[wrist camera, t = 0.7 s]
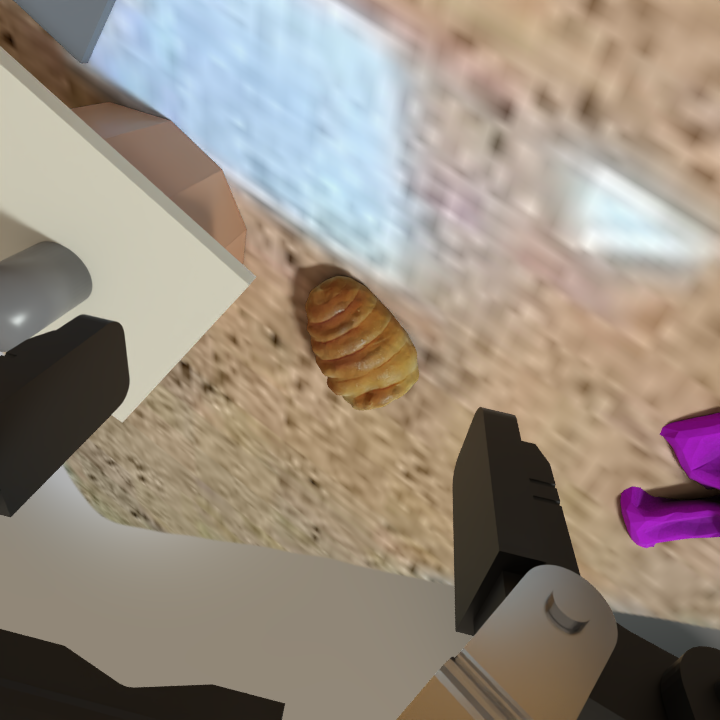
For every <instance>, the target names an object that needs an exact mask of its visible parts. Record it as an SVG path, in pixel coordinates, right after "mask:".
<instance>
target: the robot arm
mask: <svg viewBox="0 0 720 720" xmlns="http://www.w3.org/2000/svg"><path fill="white" fill-rule="evenodd" d="M129 384H130V376H129V368H128V359H127V351H126V342H125V334H124V329H123V327H122V325H121V324H120V323H119V322H116V321H112V320H108V319H103V318H99V317H95V316H90V315H86V314H82V315H79V316H77V317H75V318H74V319H72V320H71V321H69V322H68V323H66V324H65V325H63V326H62V327H60V328H58V329H57V330H53V331H50V332H47V333H44V334H41V335H38V336H35V337H32V338H29V339H27V340H25V341H23V342H22V343H20V344H19V345H17V346H15V347H14V348H12V349H11V350H9V351H8V352H6V355H5V356H2V355H1V356H0V515H4V516H8V517H11V516H12V515H13V514H14V513H15V512H16V511H17V510H18V509H19V508H20V507H21V506H22V505H23V504H24V503H25V502H26V501H27V500H28V499H29V498H30V497H31V496H32V495H33V494H34V493H35V492H36V491H37V490H38V489H39V488H40V487H41V486H42V485H43V484H44V483H45V482H46V481H47V480H48V479H49V478H50V477H51V476H52V475H53V474H54V473H55V472H56V471H57V470H58V469H59V468H60V466H62V465H63V463H64V462H65V461H66V460H67V459H68V458H69V457H70V456H71V455H72V454H73V453H74V452H75V451H76V450H77V449H78V448H79V447H80V446H81V445H82V444H83V443H84V442H85V441H86V440H87V439H88V438H89V437H90V436H91V435H92V434H93V433H94V432H95V431H96V430H97V429H98V428H99V427H100V426H101V425H102V424H103V423H104V422H105V421H106V420H107V419H108V418H109V417H110V416H111V415H112V414H113V413H114V412H115V411H116V410H117V409H118V407H119V406H120V405H121V404H122V403H123V401H124V399H125V398H126V395H127V393H128V389H129ZM559 504H560V499H559V496H558V492H557V489H556V488H555V481H554V477H553V474H552V470H551V466H550V463H549V462H548V461H547V459H546V458H545V457H544V455H543V454H542V453H541V451H540V450H539V449H538V447H537V446H536V444H533V443H528V442H524V441H521V437H520V432H519V428H518V423H517V419H516V416H515V415H512V414H508V413H503V412H499V411H495V410H491V409H486V408H482V407H480V408H478V410H477V411H476V413H475V415H474V418H473V420H472V423H471V425H470V428H469V431H468V433H467V436H466V438H465V441H464V443H463V446H462V448H461V451H460V453H459V456H458V459H457V462H456V466H455V470H454V476H453V530H454V578H455V625H456V632H460V633H465V634H468V635H472V636H473V638H472V639H471V640H470V641H469V643H468V644H467V645H466V646H465V647H464V648H463V650H462V651H461V652H460V653H459V654H458V655H457V656H456V657H455V658H454V657H451V658H450V659H449V660H448V661H447V662H446V663H445V664H444V665H443V666H442V667H441V668H440V669H439V670H438V672H437V673H436V674H435V675H434V676H433V677H432V679H431V680H430V681H429V682H428V683H427V684H426V686H425V687H424V688H423V689H422V690H421V691H420V693H419V694H418V695H417V696H416V697H415V698H414V700H413V701H412V702H411V703H410V704H409V705H408V707H407V708H406V709H405V710H404V711H403V712H402V714H401V715H400V716H399V717H398V718H397V720H720V650H718V649H715V648H711V647H702V646H699V647H693V648H691V649H689V650H688V651H686V652H685V653H684V654H683V655H682V656H681V657H680V658H678V657H676V656H674V655H672V654H670V653H668V652H667V651H664V650H663V649H661V648H659V647H657V646H656V645H654V644H652V643H650V642H648V641H646V640H645V639H643V638H641V637H639V636H637V635H636V634H633V633H631V632H630V631H628V630H627V629H625V628H624V627H622V626H621V625H619V624H618V623H617V622H616V621H615V617H614V615H613V613H612V610H611V608H610V607H609V605H608V603H607V602H606V600H605V599H604V598H603V596H602V595H601V594H600V593H599V592H598V591H597V589H596V588H595V587H594V586H592V585H591V584H590V583H589V582H588V581H587V580H585V579H584V578H582V577H581V576H580V573H579V569H578V565H577V562H576V558H575V554H574V551H573V547H572V543H571V540H570V536H569V532H568V529H567V525H566V521H565V518H564V514H563V510H562V507H561V506H560V505H559ZM284 706H285V703H281V702H277V701H273V700H269V699H266V698H262V697H257V696H254V695H250V694H247V693H242V692H239V691H235V690H231V689H227V688H223V687H220V686H216V685H188V686H164V687H141V688H140V687H139V688H132V687H126V686H123V685H121V684H119V683H118V682H116V681H115V680H113V679H112V678H111V677H109V676H108V675H106V674H105V673H103V672H102V671H100V670H99V669H97V668H96V667H95V666H93V665H92V664H90V663H88V662H87V661H86V660H84V659H83V658H81V657H80V656H78V655H77V654H76V653H74V652H73V651H71V650H70V649H68V648H67V647H65V646H63V645H59V644H55V643H51V642H48V641H44V640H40V639H36V638H33V637H29V636H24V635H21V634H17V633H13V632H10V631H6V630H2V629H0V720H282V716H283V711H284Z"/></svg>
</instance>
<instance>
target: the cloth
mask: <svg viewBox="0 0 720 720" xmlns="http://www.w3.org/2000/svg"><path fill="white" fill-rule="evenodd" d="M660 435H661V436H663V437H664V438H665V439H666V440H667V441H668V443H669V444H670V445H671V446H672V448H673V450H674V452H675V454H676V456H677V458H678V461H679V463H680V465H681V466H682V468H683V469H684V471H685V473H686V474H687V476H688V477H689V478H690V479H692V480H695V481H697V482H698V483H700V484H701V485H702V486H704V487H705V488H706V489H709V490H712V489H719V490H720V413H716V414H711V415H707V416H702V417H695V418H691V419H687V420H682V421H677V422H673V423H670V424H668V425H666V426H664V427H663V428H662V431H661V433H660ZM621 495H622V496H621V510H622V515H623V518H624V521H625V524H626V527H627V531H628V533H629V535H630V537H631V539H632V540H633V541H634V542H635V543H636V544H637V545H639V546H642V547H645V548H648V547H651V546H652V547H654V545H655V544H656V543H659V542H665V541H673V540H680V539H688V538H709V537H720V494H719V495H717V496H714V497H709V498H704V499H697V500H677V499H667V498H662V497H653V496H651V495H649V494H648V493H646V492H645V491H644V490H642V489H641V488H639V487H630V488H628V489H626V490H624V491H623V492H622V493H621Z"/></svg>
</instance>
